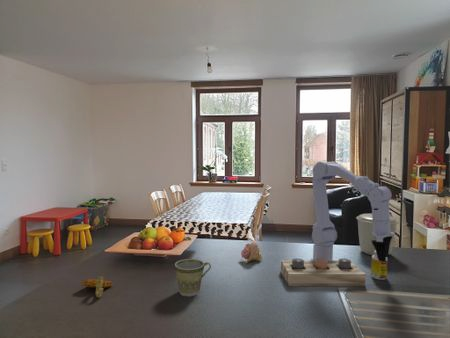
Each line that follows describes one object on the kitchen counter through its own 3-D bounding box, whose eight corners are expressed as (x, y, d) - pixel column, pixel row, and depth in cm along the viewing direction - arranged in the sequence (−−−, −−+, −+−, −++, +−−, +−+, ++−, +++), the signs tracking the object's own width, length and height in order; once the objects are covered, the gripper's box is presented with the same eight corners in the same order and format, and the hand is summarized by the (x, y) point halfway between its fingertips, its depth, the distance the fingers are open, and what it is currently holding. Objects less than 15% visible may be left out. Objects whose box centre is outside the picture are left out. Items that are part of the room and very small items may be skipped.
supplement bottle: (381, 281, 124) (382, 254, 123) (367, 276, 128) (369, 250, 127) (389, 278, 127) (390, 252, 126) (376, 273, 131) (377, 248, 131)
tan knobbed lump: (260, 258, 150) (269, 247, 143) (251, 274, 142) (260, 264, 136) (244, 246, 151) (252, 235, 144) (234, 261, 144) (242, 251, 137)
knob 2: (336, 267, 128) (336, 258, 128) (347, 267, 128) (348, 258, 128) (340, 271, 124) (341, 262, 123) (352, 271, 124) (352, 262, 123)
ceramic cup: (180, 301, 106) (180, 271, 105) (170, 289, 115) (170, 261, 114) (216, 293, 112) (217, 264, 111) (204, 282, 121) (205, 255, 120)
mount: (280, 271, 132) (281, 260, 132) (349, 271, 133) (349, 260, 133) (288, 286, 118) (289, 274, 118) (365, 286, 119) (365, 274, 119)
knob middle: (313, 267, 128) (314, 258, 127) (324, 267, 128) (325, 258, 127) (317, 271, 123) (317, 262, 123) (328, 271, 123) (329, 262, 123)
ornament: (81, 270, 118) (86, 276, 105) (111, 272, 122) (119, 278, 109) (77, 290, 116) (82, 299, 103) (108, 291, 121) (116, 299, 108)
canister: (394, 262, 144) (397, 215, 143) (351, 254, 154) (353, 210, 152) (398, 251, 160) (400, 208, 158) (358, 245, 169) (360, 204, 168)
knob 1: (290, 267, 127) (291, 258, 127) (302, 267, 127) (302, 258, 127) (293, 271, 123) (293, 262, 123) (305, 271, 123) (305, 262, 123)
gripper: (391, 223, 110) (393, 264, 110) (395, 217, 122) (397, 254, 122) (368, 222, 114) (371, 262, 113) (374, 217, 126) (376, 252, 126)
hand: (383, 258), depth 118 cm, fingers open, 7 cm apart
